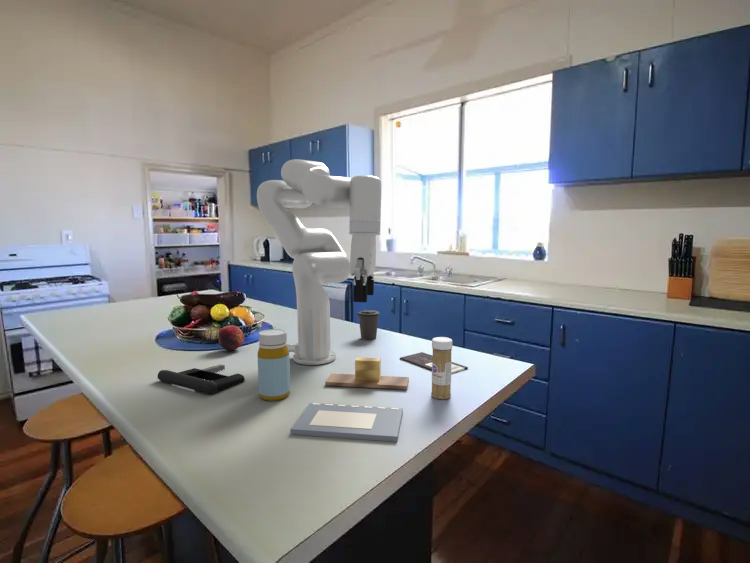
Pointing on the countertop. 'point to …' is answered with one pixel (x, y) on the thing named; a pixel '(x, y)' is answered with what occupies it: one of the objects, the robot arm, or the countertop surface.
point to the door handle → (201, 379)
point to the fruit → (230, 337)
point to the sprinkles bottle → (441, 367)
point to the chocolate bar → (429, 362)
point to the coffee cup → (368, 324)
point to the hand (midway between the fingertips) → (363, 298)
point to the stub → (368, 376)
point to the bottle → (273, 365)
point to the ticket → (349, 422)
